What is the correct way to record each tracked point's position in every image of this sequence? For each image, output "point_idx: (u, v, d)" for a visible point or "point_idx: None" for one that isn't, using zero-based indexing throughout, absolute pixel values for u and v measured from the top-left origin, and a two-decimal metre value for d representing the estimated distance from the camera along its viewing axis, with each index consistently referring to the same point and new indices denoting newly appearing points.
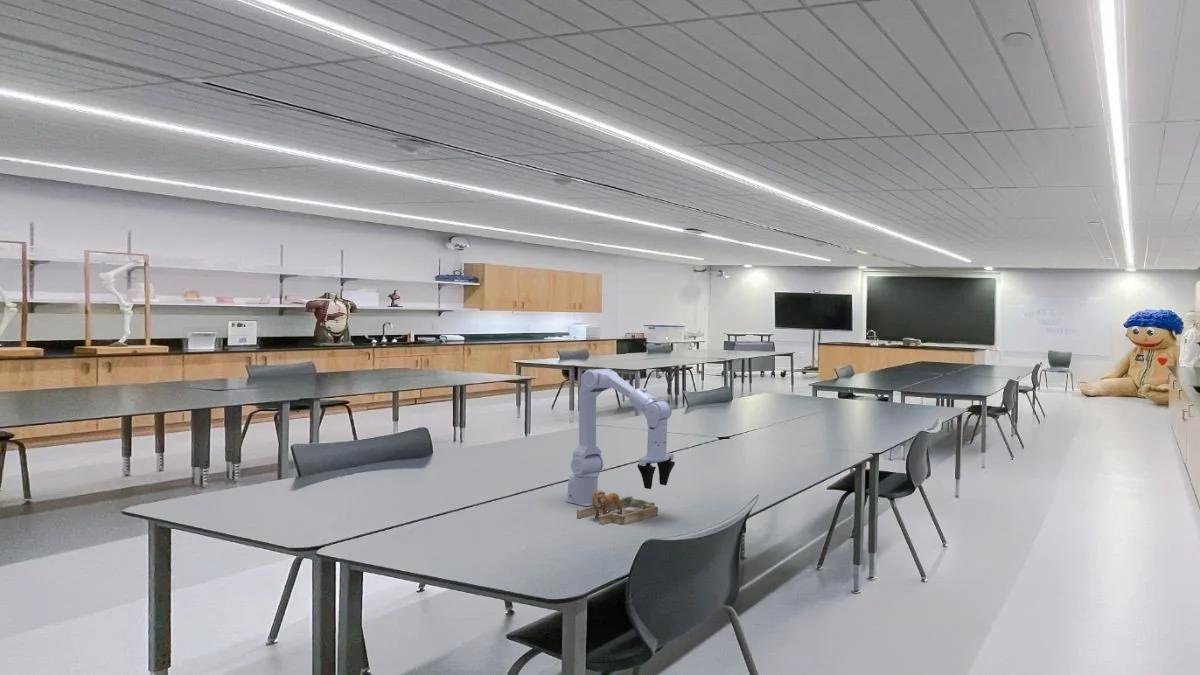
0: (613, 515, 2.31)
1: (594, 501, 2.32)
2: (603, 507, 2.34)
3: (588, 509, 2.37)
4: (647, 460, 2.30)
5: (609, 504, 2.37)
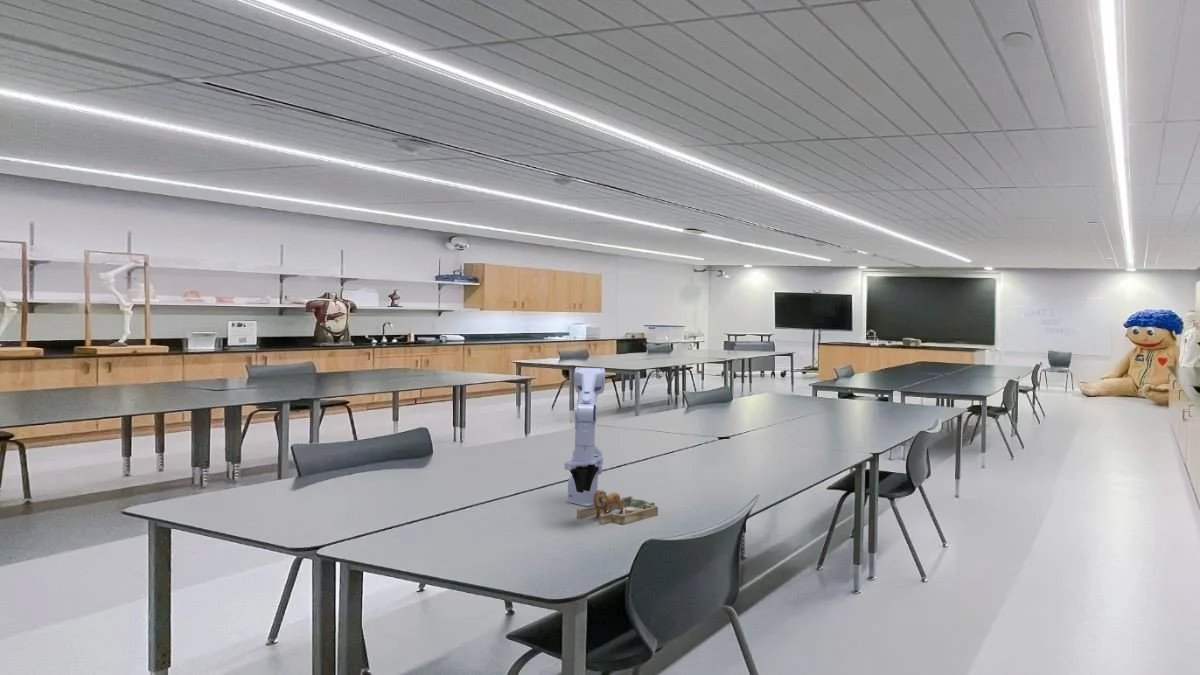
0: (613, 515, 2.31)
1: (595, 501, 2.32)
2: (604, 507, 2.34)
3: (588, 509, 2.37)
4: (573, 464, 2.24)
5: (610, 504, 2.37)
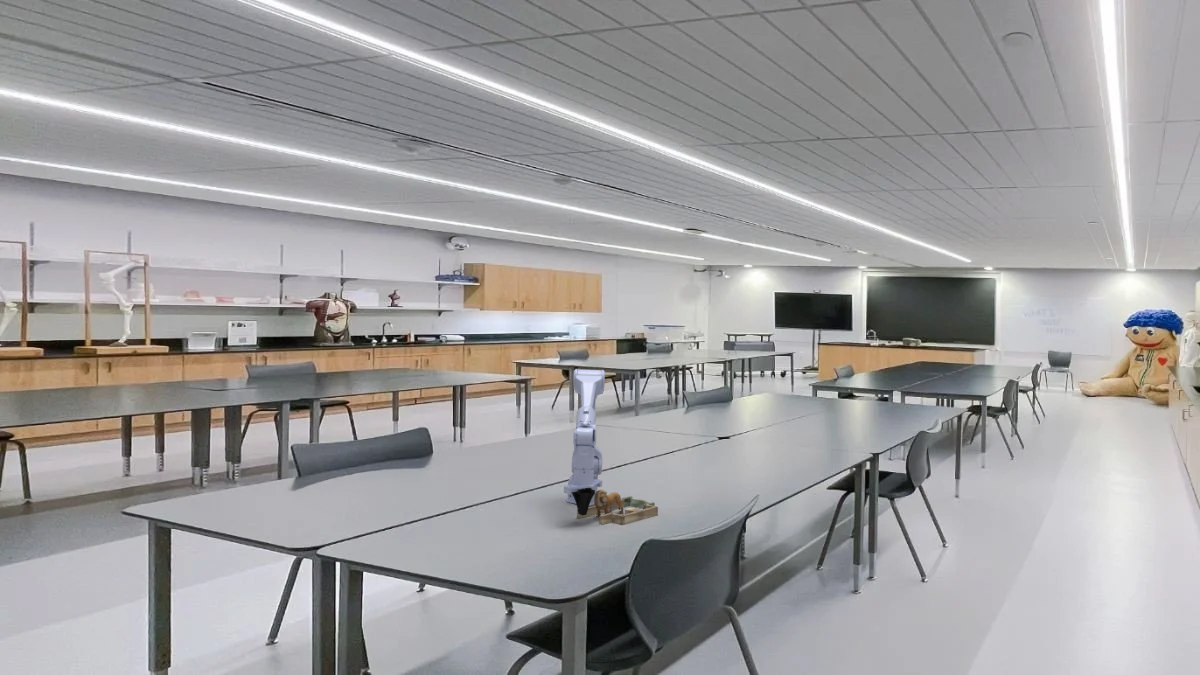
0: (613, 515, 2.31)
1: (596, 501, 2.33)
2: (605, 507, 2.35)
3: (588, 509, 2.37)
4: (572, 488, 2.24)
5: (611, 504, 2.38)
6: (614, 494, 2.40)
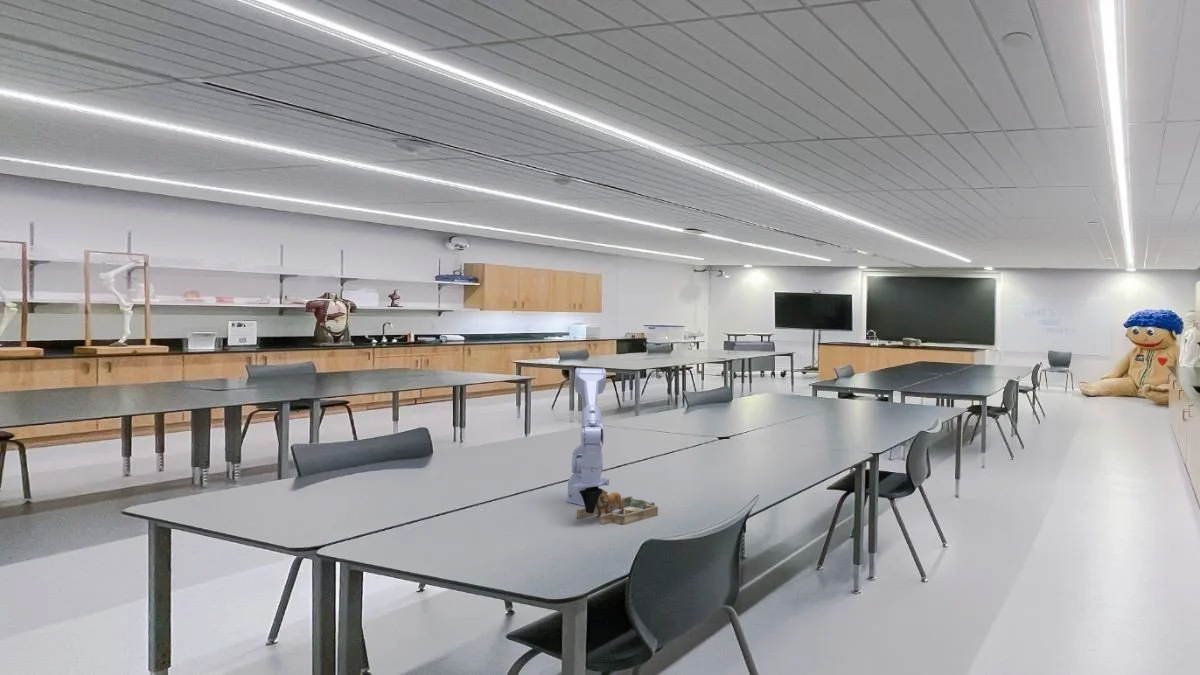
0: (613, 515, 2.31)
1: (597, 500, 2.33)
2: (605, 506, 2.35)
3: None
4: (580, 486, 2.26)
5: (611, 503, 2.38)
6: (614, 494, 2.40)
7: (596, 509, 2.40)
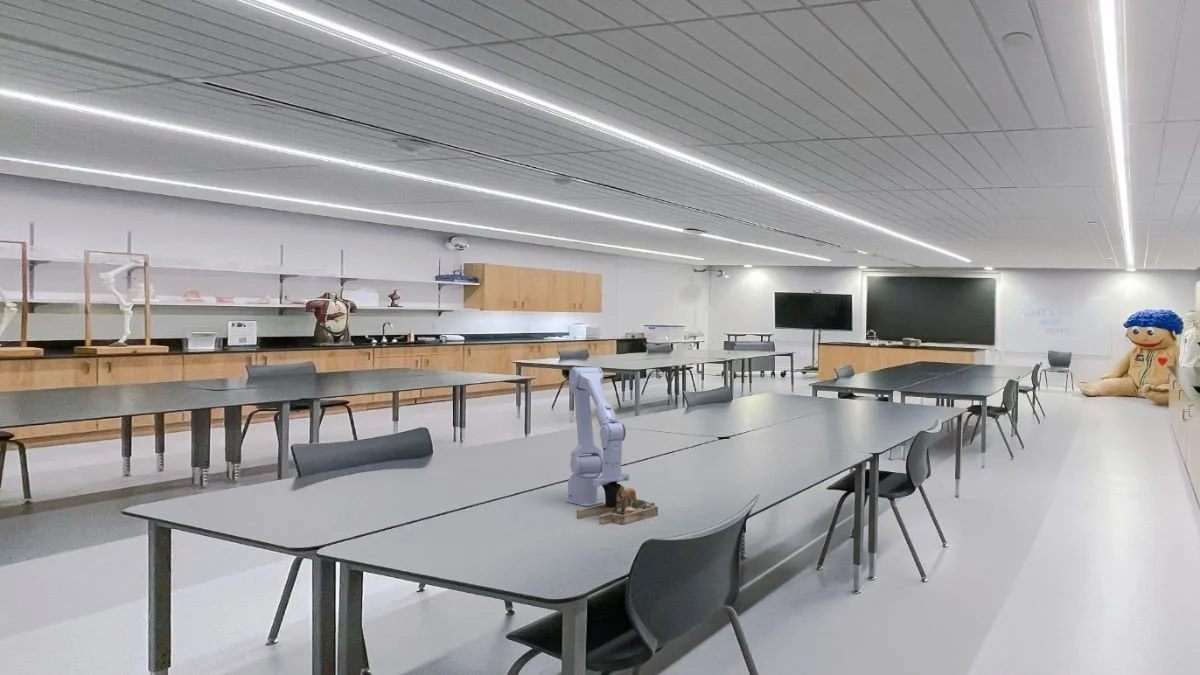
0: (613, 515, 2.31)
1: None
2: (622, 501, 2.40)
3: (588, 509, 2.37)
4: (601, 481, 2.33)
5: (627, 499, 2.44)
6: (630, 489, 2.46)
7: (596, 509, 2.40)
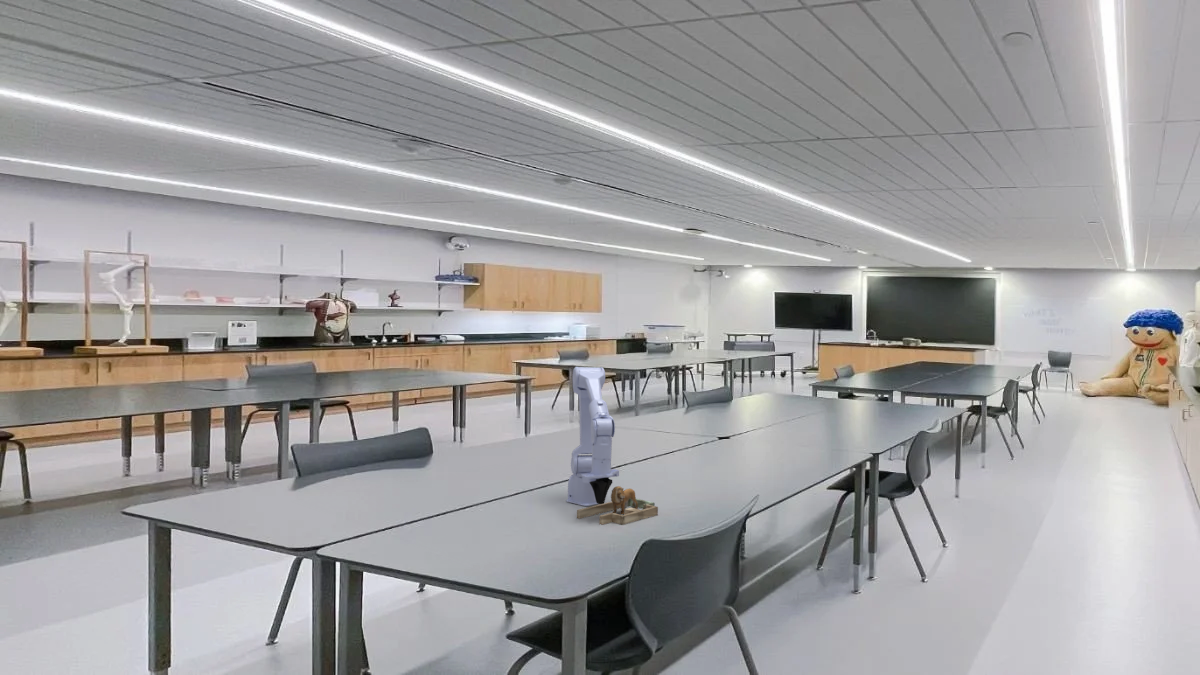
0: (613, 515, 2.31)
1: (613, 497, 2.38)
2: (622, 503, 2.40)
3: (588, 509, 2.37)
4: (590, 477, 2.30)
5: (626, 500, 2.44)
6: (629, 490, 2.46)
7: (596, 509, 2.40)
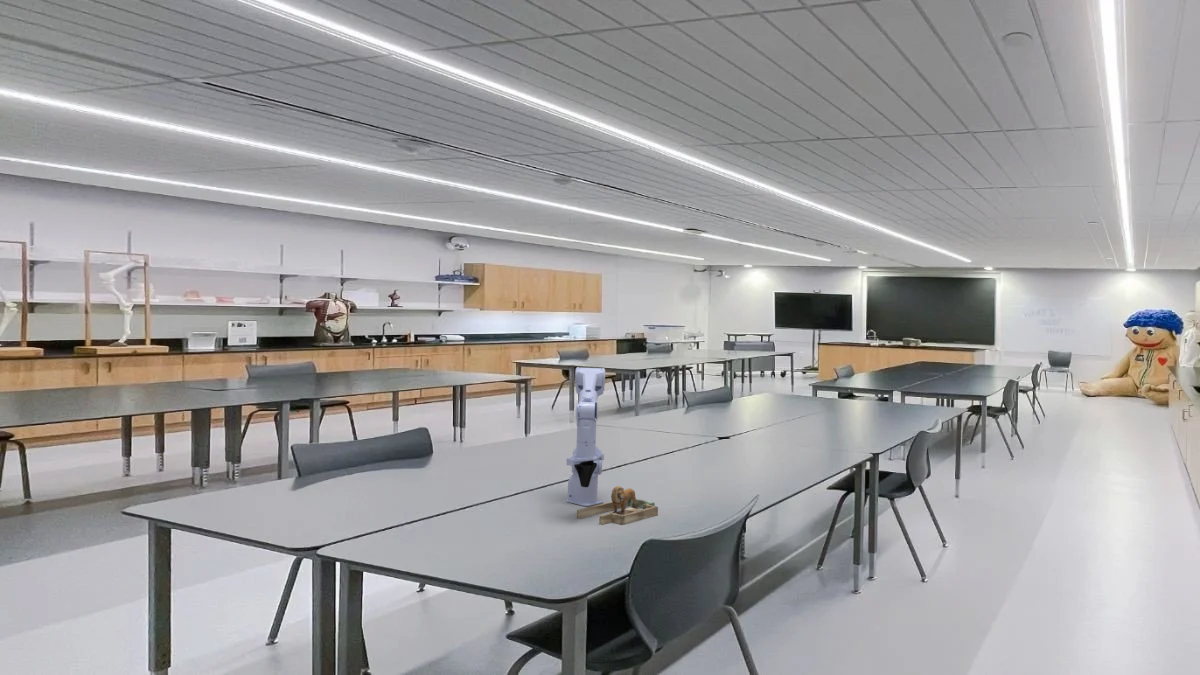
0: (613, 515, 2.31)
1: (614, 497, 2.38)
2: (622, 503, 2.40)
3: (588, 509, 2.37)
4: (575, 460, 2.30)
5: (626, 500, 2.44)
6: (629, 490, 2.46)
7: (596, 509, 2.40)
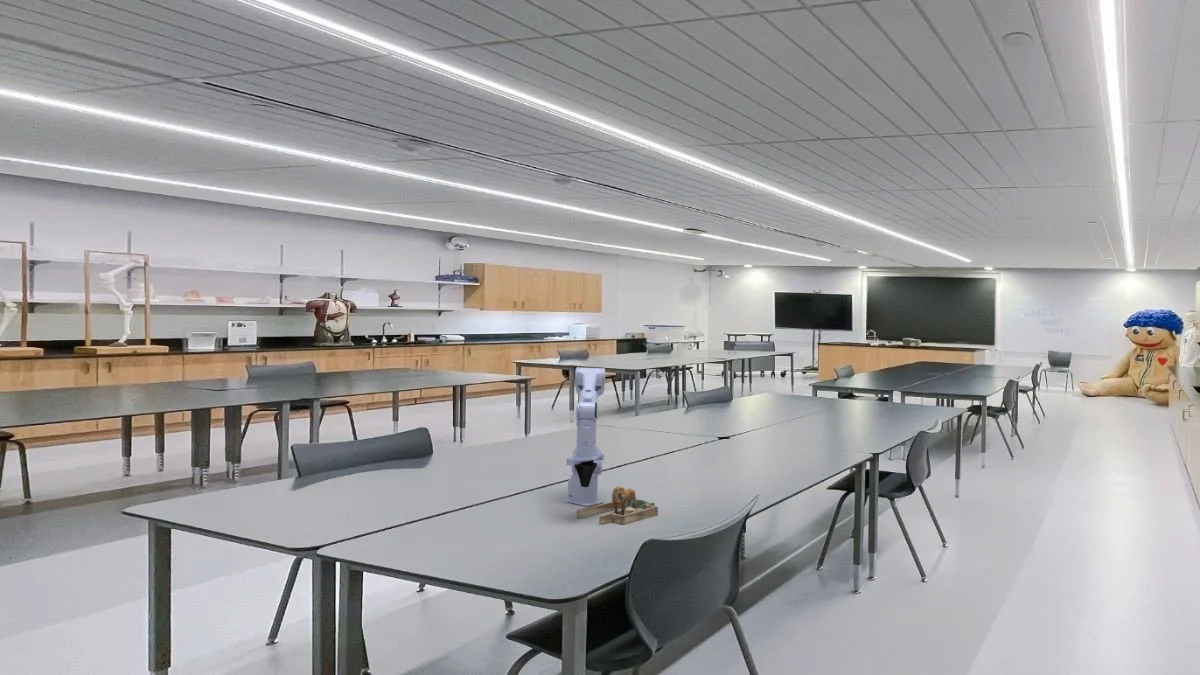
0: (613, 515, 2.31)
1: (615, 497, 2.38)
2: (623, 503, 2.40)
3: (588, 509, 2.37)
4: (575, 460, 2.30)
5: (627, 499, 2.44)
6: (629, 490, 2.46)
7: (596, 509, 2.40)
